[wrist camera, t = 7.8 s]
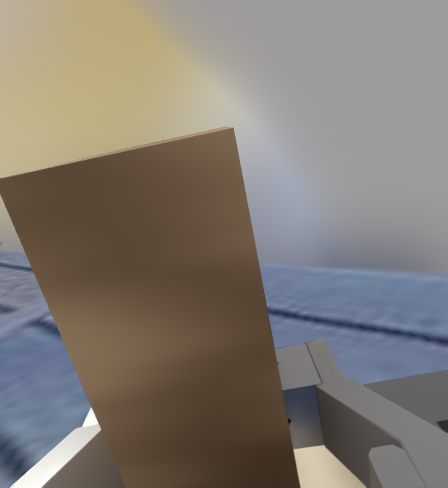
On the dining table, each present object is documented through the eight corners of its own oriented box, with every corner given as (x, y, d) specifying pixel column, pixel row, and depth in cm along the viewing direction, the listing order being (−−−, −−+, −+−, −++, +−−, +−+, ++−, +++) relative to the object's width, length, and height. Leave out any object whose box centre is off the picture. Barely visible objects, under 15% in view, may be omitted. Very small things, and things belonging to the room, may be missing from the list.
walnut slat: (238, 751, 9) (-6, 179, 4) (231, 541, 14) (112, 151, 9) (346, 737, 9) (233, 127, 4) (302, 530, 14) (224, 127, 9)
